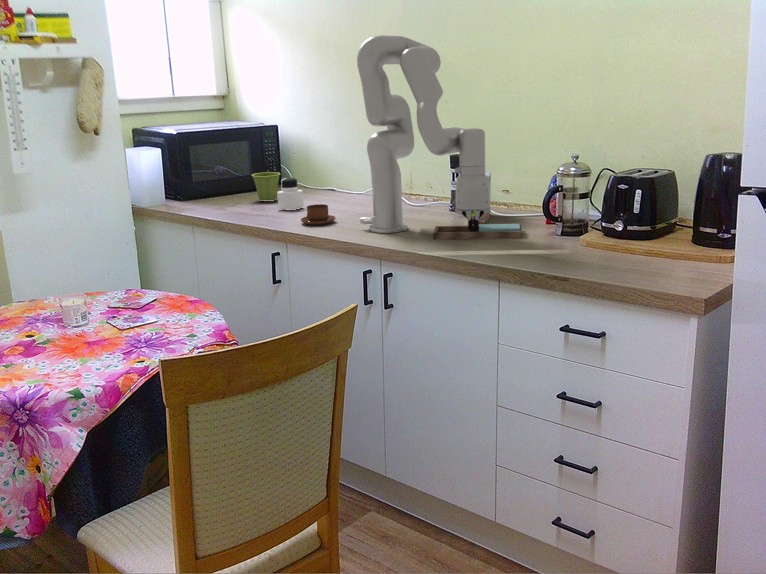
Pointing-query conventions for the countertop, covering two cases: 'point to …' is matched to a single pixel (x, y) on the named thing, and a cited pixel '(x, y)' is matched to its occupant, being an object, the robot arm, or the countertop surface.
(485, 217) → the snack box
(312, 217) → the cup and saucer
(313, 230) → the countertop surface
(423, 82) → the robot arm
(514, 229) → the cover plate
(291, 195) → the medicine bottle
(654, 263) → the countertop surface
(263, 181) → the plant pot
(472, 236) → the walnut box
